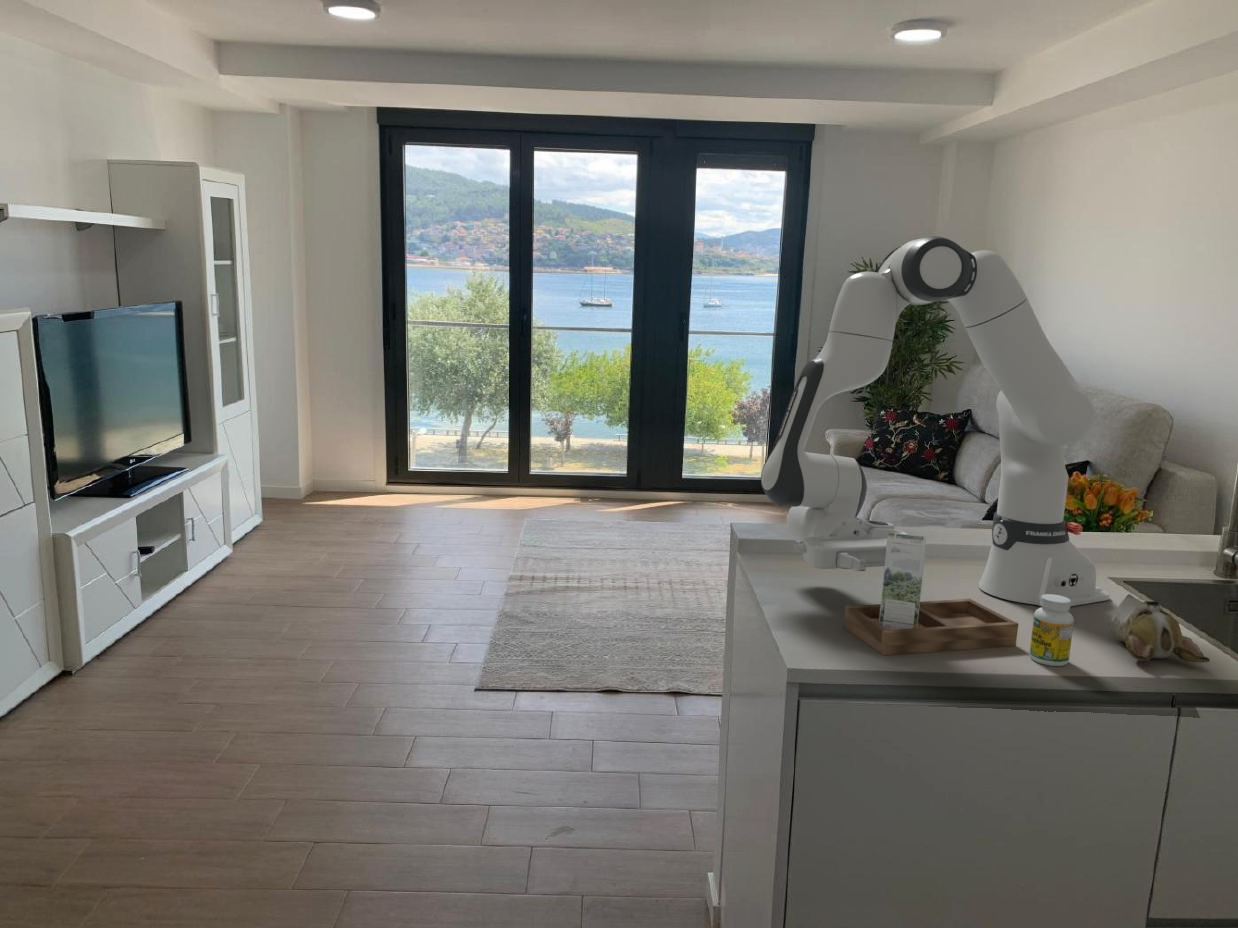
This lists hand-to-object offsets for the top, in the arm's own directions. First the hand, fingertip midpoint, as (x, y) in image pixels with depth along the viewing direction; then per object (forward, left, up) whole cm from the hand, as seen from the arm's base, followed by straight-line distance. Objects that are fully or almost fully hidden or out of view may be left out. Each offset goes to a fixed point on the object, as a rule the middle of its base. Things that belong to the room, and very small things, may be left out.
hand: (888, 565), depth 150 cm
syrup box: (0, +4, -9) cm, 10 cm away
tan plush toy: (-36, +17, -11) cm, 41 cm away
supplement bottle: (-18, +16, -11) cm, 27 cm away
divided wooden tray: (-5, +4, -10) cm, 13 cm away
